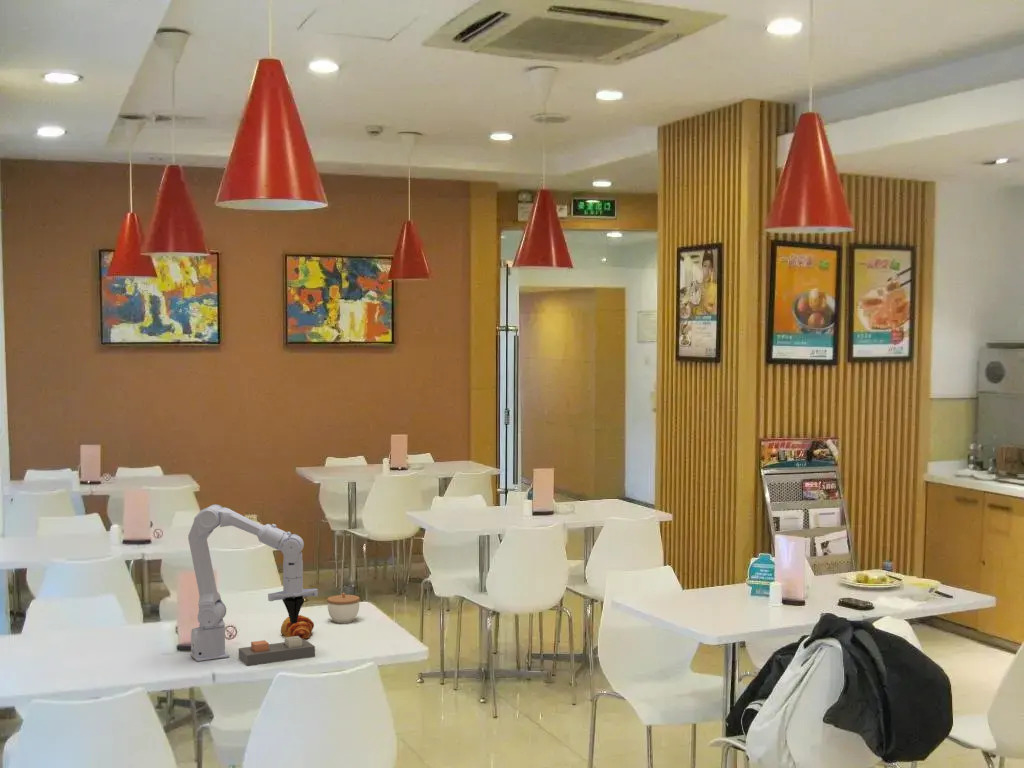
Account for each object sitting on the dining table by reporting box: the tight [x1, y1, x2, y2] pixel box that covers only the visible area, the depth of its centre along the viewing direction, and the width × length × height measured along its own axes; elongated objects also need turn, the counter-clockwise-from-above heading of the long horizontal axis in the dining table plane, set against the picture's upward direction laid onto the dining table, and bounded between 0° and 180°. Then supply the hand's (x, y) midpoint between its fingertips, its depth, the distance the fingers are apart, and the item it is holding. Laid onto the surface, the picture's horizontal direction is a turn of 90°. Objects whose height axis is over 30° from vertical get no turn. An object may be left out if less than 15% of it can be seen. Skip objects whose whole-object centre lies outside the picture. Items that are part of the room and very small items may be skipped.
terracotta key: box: [250, 639, 270, 653], centre depth 310 cm, size 4×4×3 cm
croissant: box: [280, 614, 315, 640], centre depth 340 cm, size 21×10×8 cm, turn 21°
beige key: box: [284, 636, 303, 648], centre depth 315 cm, size 4×4×3 cm
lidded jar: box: [326, 592, 360, 624], centre depth 358 cm, size 11×11×9 cm
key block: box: [238, 639, 316, 667], centre depth 313 cm, size 20×9×3 cm, turn 120°
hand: (293, 622), depth 315 cm, fingers closed
